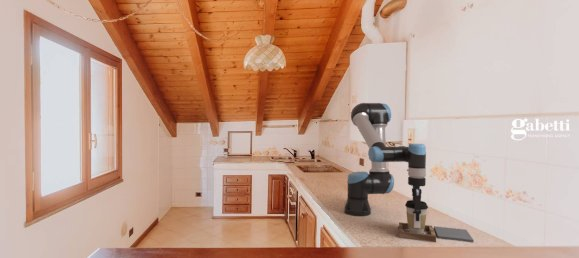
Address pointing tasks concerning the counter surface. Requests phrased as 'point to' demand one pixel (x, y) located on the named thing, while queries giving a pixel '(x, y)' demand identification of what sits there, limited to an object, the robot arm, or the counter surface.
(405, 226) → the walnut collar
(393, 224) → the counter surface
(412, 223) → the coffee cup
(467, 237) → the trivet mat
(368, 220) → the counter surface
